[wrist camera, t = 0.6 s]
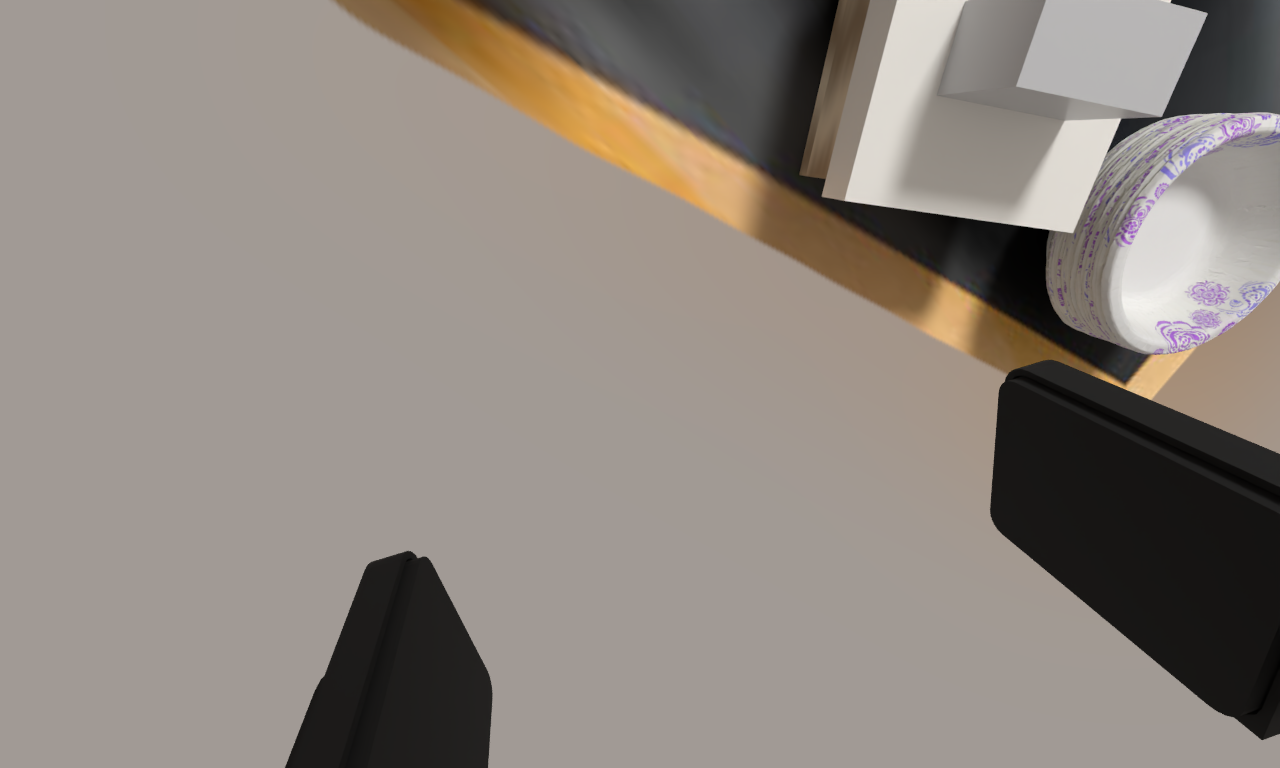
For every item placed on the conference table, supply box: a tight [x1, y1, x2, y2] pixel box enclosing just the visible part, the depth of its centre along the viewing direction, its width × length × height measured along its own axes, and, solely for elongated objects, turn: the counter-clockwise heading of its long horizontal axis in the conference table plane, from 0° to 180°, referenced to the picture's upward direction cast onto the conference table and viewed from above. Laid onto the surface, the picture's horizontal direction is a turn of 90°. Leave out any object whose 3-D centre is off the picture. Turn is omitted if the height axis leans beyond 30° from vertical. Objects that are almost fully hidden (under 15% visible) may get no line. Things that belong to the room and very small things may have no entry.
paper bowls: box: [1046, 113, 1280, 355], centre depth 38 cm, size 15×15×8 cm
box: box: [799, 0, 870, 179], centre depth 32 cm, size 13×13×7 cm
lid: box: [822, 0, 1208, 233], centre depth 27 cm, size 15×15×8 cm
